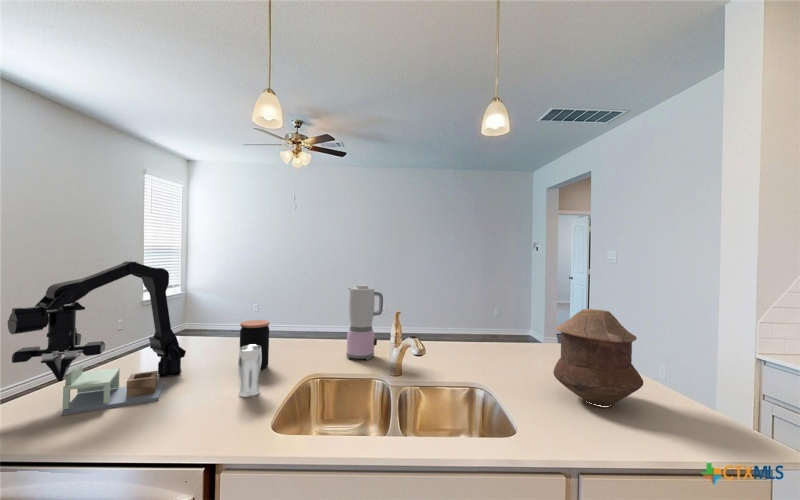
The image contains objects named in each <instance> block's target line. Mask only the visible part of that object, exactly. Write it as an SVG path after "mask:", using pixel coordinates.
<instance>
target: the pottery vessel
mask: <svg viewBox="0 0 800 500" xmlns="http://www.w3.org/2000/svg"><path fill="white" fill-rule="evenodd" d="M555 330H556V331H557V332H559V333H560V358H559V359H558V361H557V362H556V364H555V366H554V368H553V371H552V372H553V375H554V377H555V379H556V380H557V381H558V382H559V383H560V384H561V385H563V387H566V389H567V390H569V391H570V392H572V393H573V394H574V395H577V396H578V397H579V398H580V397H581V398H582V399H583V400H585V401H587V402H590V403H592V404H596V405H601V406H610V405H613V404H614V405H615V404H616V403H618V402H620V401H622V400H623V399H625V398H627V397H629V396H630V395H632V394H633V393H635V392H637V391H638V390H640V389H641V388H642V387H643V385H644V379H643V377H642V376H641V374H640V373H639V372H638V370H637V369H636V368H635V366H634V365H633V363H632V362H633V361H632V360H633V359H632V354H633V342H635V341H637V336H636V335H634V334H633V333H632V332H630V331H629V330H627V329H626V328H625V327H624V326H623V325H622V324H621V322H620V321H619V320H618V319H617V318H616V316H614V314H612V312H610V311H609V310H604V309H603V310H602V309H593V308H585V309H584V308H583V309H581V310H580V311H578V312H577V313H576V314H574V315H573V316H571V317H570V318H569V319H567V320H566V321H564V322H562V323H561V324H559V325H557V326H556V327H555ZM581 398H580V399H581ZM582 399H581V400H582ZM583 400H582V401H583ZM585 401H584V402H585ZM614 405H613V406H614Z"/></svg>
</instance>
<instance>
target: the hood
mask: <svg viewBox="0 0 800 500" xmlns="http://www.w3.org/2000/svg"><path fill="white" fill-rule="evenodd" d="M83 368H84V365H83V364H80V365H76V366H75V367H74V368H73V369H72V370H71V371H70V372H68V374H66V375H65V378H64V379H65V384H64V386H63V389H62V390H63V391H62V410H64V409H68V408H69V407H70V402H71V390H77V391H76V393H77V394H78V393H82V392H89V391H97V390H104V402H103V403H109V402H110V389H112V388H119V387H120V374H121V373H120V367H116V368H108V369H107V368H106V369H98V370H91V371H90V370H89V371H83Z"/></svg>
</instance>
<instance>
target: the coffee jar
mask: <svg viewBox="0 0 800 500" xmlns="http://www.w3.org/2000/svg"><path fill="white" fill-rule="evenodd" d="M239 325H240V327H241V328H240V330H239V348H240V347H242V346H246V345H259V346H261V354H262V361H261V369H260V372H262V371H264V370H266V369H267V368H268V366H269V353H270V352H269V350H270V347H269V346H270V327H269V326H270V321H269V320H266V319H253V320H251V319H250V320H244V321H241V322H240V323H239Z"/></svg>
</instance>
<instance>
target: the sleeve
mask: <svg viewBox="0 0 800 500" xmlns="http://www.w3.org/2000/svg"><path fill="white" fill-rule="evenodd" d="M158 377H159V374H158V370H153V371H144V372H136V373H135V372H134V373H130V375H129V377H128V378H127V380H126V386H127V391H126V398H128V397H135V396H142V395H149V394H154V393H155V391H156V388H157V382H158Z"/></svg>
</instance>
